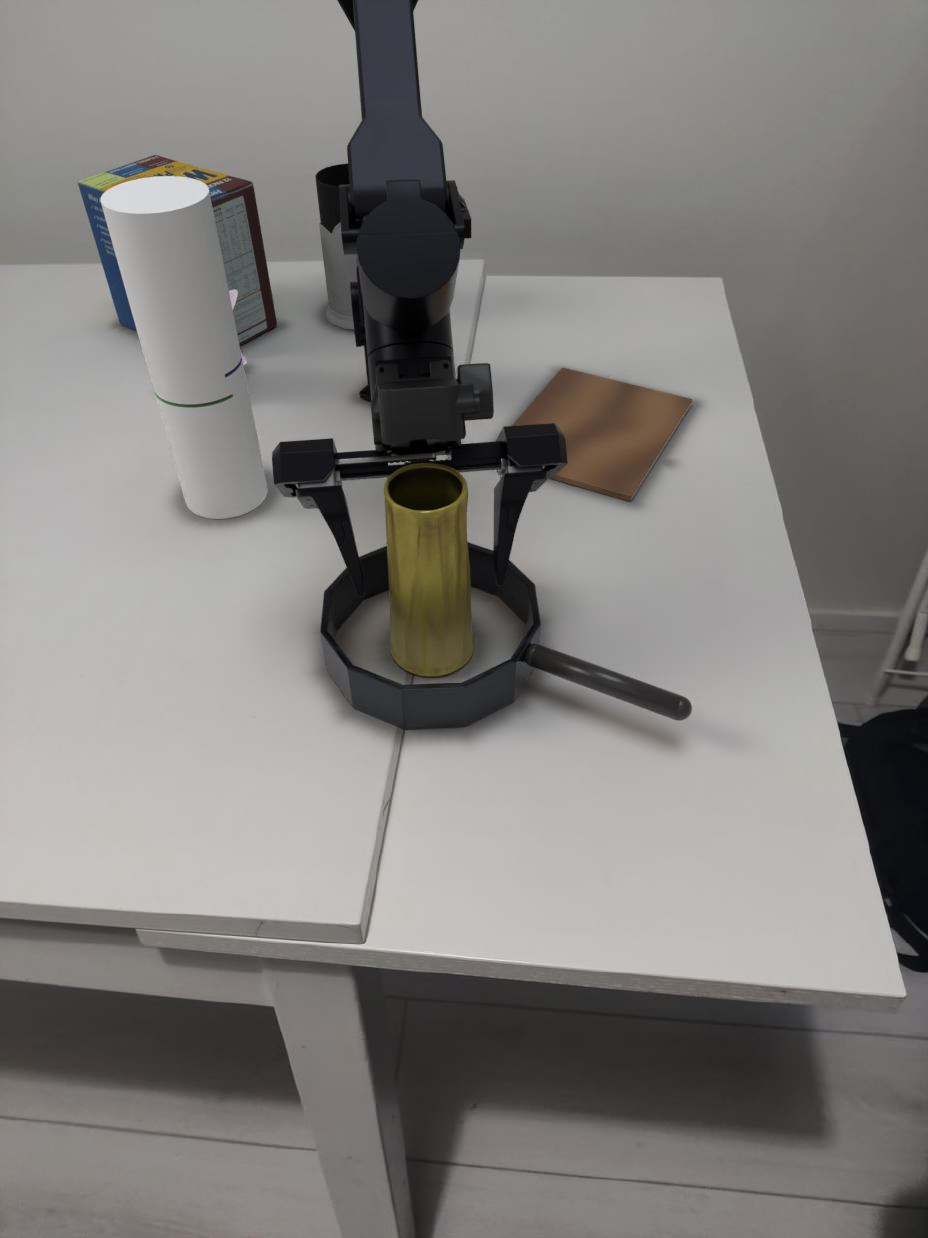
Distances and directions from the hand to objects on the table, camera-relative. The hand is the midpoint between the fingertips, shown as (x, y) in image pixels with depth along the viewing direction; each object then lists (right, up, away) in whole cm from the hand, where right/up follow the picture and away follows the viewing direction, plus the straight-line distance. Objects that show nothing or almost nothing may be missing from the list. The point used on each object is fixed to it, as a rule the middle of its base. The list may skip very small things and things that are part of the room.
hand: (431, 591), depth 58 cm
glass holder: (-11, +35, +46) cm, 59 cm away
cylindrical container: (-19, +9, +19) cm, 28 cm away
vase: (0, -4, +6) cm, 7 cm away
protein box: (-28, +31, +42) cm, 59 cm away
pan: (+5, -6, +4) cm, 8 cm away
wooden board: (+15, +16, +26) cm, 34 cm away
